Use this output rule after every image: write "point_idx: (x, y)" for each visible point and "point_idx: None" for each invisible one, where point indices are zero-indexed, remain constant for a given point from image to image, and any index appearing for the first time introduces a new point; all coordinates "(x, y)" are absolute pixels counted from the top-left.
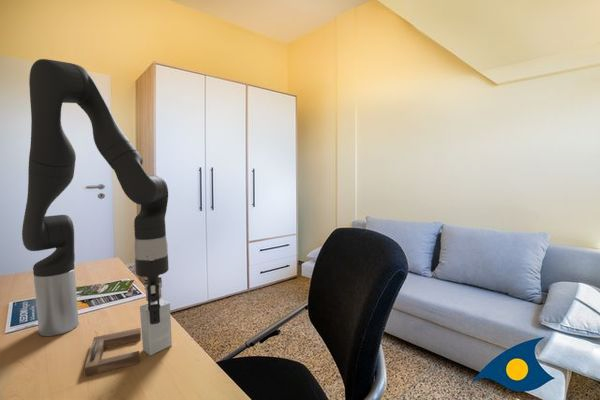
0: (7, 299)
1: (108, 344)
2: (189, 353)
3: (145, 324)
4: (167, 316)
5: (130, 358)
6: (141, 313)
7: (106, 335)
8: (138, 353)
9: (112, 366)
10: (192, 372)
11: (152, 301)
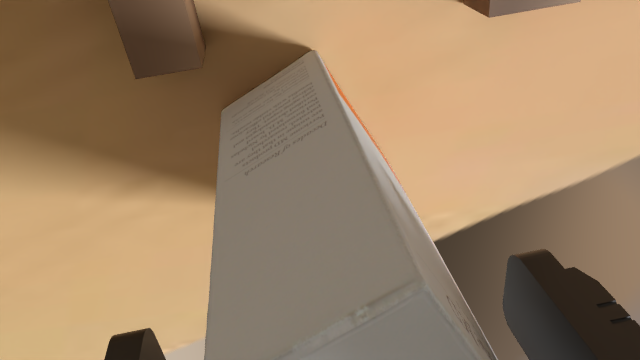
0: None
1: None
2: (200, 300)
3: (254, 218)
4: None
5: (115, 13)
6: (348, 242)
7: None
8: (163, 68)
9: None
10: (24, 331)
11: (570, 351)
